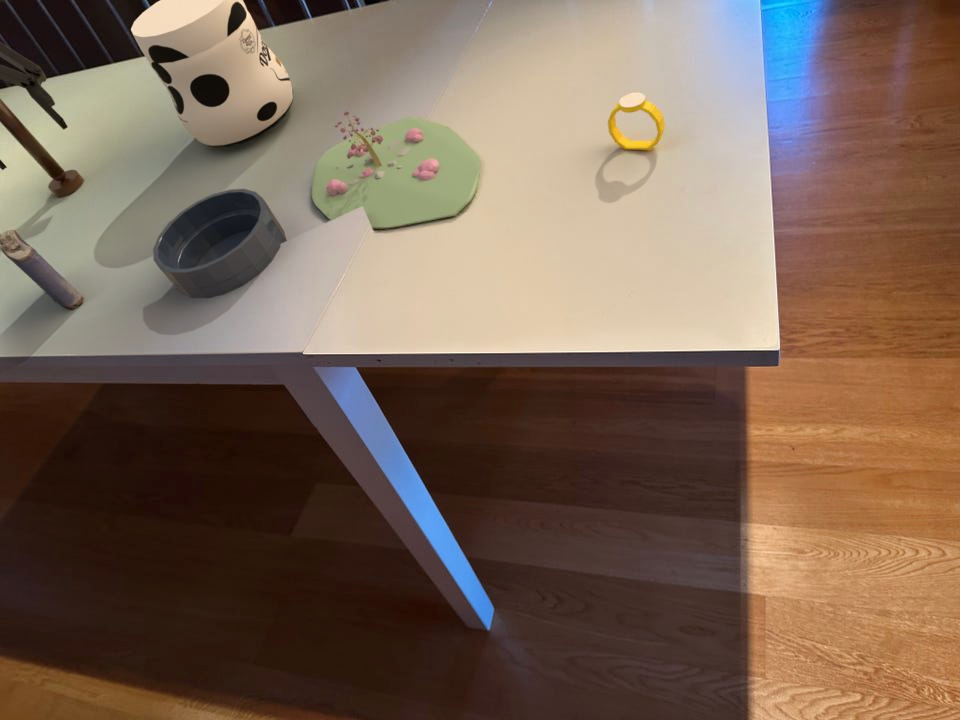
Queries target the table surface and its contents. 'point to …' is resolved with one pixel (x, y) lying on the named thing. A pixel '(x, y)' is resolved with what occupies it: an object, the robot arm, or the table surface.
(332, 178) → the plant
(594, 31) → the table surface
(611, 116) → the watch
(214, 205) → the bowl
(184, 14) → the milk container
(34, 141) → the masher
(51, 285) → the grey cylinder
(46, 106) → the robot arm
